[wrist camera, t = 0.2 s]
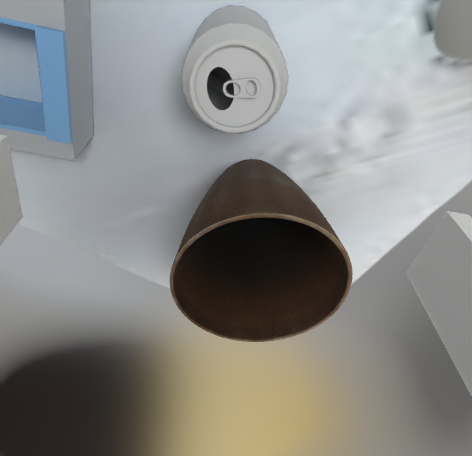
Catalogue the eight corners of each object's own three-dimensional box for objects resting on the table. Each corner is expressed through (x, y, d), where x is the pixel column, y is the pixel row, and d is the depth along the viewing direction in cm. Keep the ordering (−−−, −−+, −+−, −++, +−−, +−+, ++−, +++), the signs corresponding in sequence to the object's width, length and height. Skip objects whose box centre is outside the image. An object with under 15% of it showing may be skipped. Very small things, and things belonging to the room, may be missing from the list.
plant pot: (331, 132, 39) (378, 222, 26) (302, 241, 48) (327, 346, 35) (189, 120, 38) (167, 206, 25) (187, 233, 47) (170, 338, 34)
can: (187, 9, 32) (167, 35, 22) (273, -2, 32) (290, 20, 22) (201, 96, 36) (190, 148, 27) (276, 87, 36) (292, 137, 26)
